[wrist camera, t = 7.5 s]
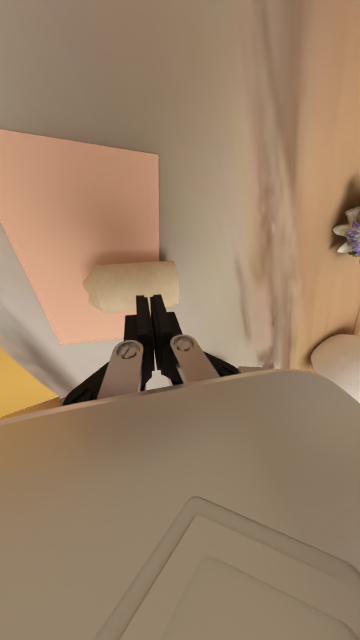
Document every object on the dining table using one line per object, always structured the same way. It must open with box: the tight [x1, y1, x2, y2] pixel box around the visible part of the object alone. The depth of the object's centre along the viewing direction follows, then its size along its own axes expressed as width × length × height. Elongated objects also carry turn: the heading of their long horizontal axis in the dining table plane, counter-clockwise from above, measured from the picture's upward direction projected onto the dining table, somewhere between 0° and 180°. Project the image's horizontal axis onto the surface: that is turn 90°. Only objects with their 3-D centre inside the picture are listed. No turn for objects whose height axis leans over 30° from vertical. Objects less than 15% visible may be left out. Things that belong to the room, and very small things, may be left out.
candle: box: [83, 261, 179, 314], centre depth 19 cm, size 6×6×10 cm
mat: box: [0, 129, 159, 345], centre depth 20 cm, size 22×15×1 cm
